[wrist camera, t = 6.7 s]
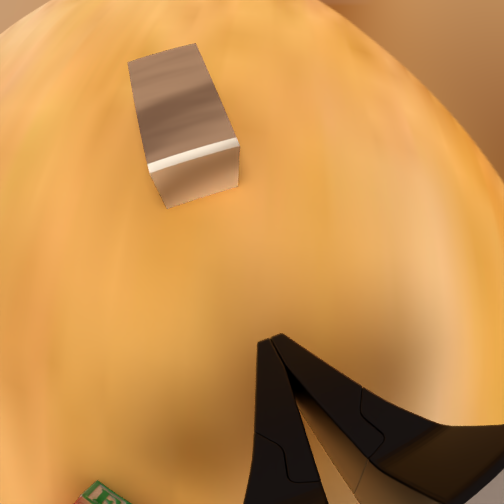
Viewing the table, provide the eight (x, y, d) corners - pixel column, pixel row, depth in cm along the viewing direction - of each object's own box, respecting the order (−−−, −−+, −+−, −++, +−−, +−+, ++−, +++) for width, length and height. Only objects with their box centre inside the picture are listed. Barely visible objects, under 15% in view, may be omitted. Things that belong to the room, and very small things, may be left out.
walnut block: (239, 145, 16) (195, 43, 18) (149, 173, 15) (127, 62, 18) (238, 186, 21) (199, 87, 23) (166, 209, 20) (141, 104, 22)
